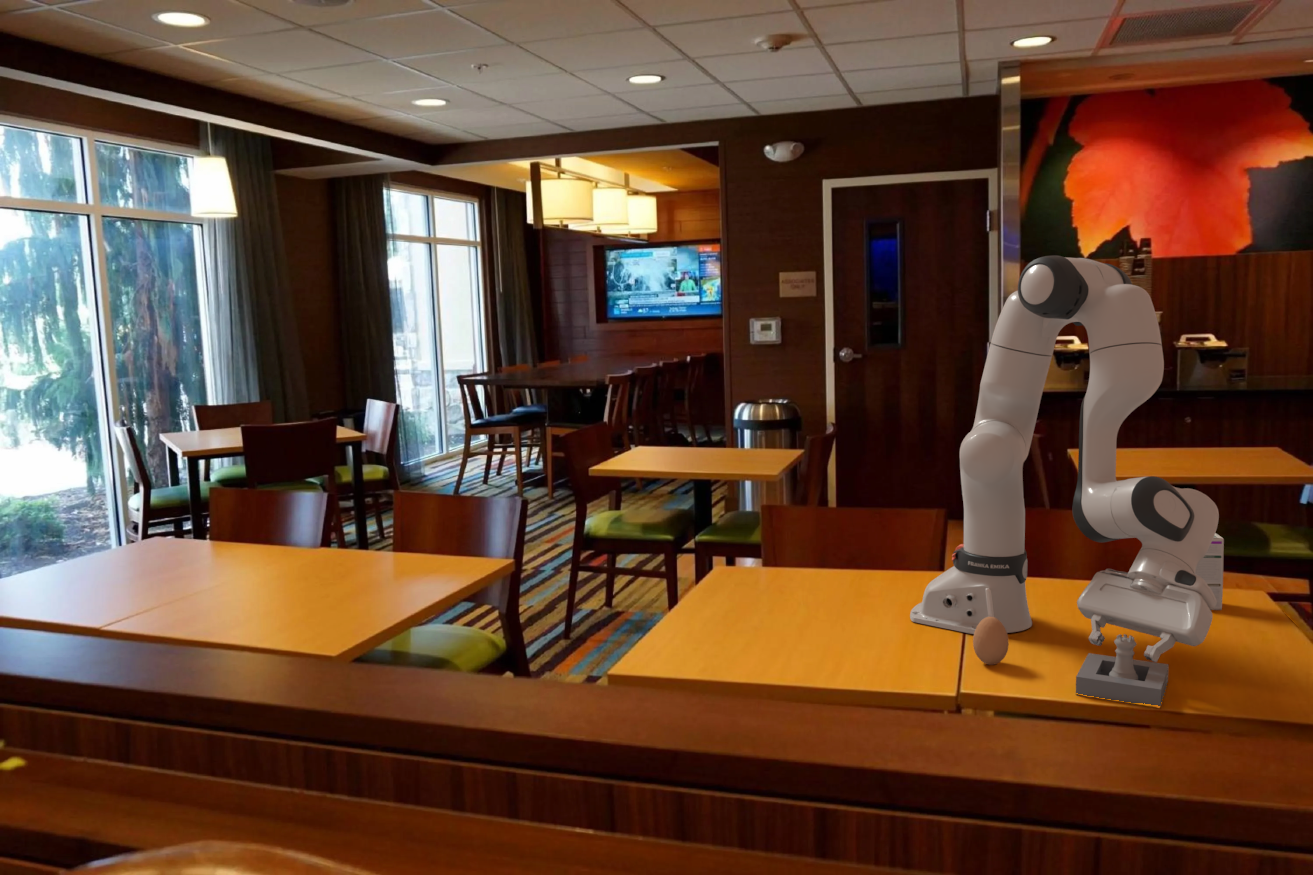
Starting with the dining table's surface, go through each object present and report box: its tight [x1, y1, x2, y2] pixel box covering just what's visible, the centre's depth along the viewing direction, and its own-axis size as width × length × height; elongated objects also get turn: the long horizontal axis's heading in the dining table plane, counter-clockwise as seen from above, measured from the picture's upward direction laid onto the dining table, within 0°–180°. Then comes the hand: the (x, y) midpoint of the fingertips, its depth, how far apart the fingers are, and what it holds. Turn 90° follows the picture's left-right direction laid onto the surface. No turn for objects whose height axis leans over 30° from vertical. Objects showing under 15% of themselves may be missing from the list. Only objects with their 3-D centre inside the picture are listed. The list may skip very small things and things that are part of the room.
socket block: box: [1075, 652, 1169, 707], centre depth 165 cm, size 12×12×3 cm
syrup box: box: [1195, 532, 1225, 611], centre depth 205 cm, size 6×6×14 cm
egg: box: [972, 617, 1009, 666], centre depth 177 cm, size 6×6×8 cm
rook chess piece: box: [1109, 633, 1138, 680], centre depth 164 cm, size 4×4×8 cm
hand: (1121, 650), depth 164 cm, fingers open, 8 cm apart
